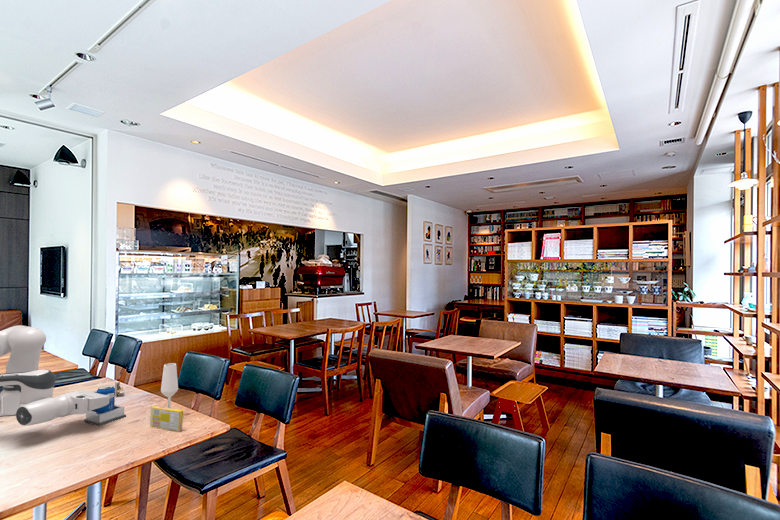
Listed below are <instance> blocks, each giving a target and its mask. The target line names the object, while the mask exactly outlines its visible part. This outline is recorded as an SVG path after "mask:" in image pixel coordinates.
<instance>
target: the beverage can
mask: <svg viewBox="0 0 780 520" xmlns="http://www.w3.org/2000/svg"><path fill="white" fill-rule="evenodd" d="M96 391H97V393H99V394H103V395H107V394H109V393H114V397H113V398H110V399H109V404H108V405H106V406H103V407H101V408H98V409H96V412H97V413H104V412H107V411H111V410H114V405H116V404H115V398H116V397H115V384H114V385H113V384H105V385H101V386H98V387H97V389H96Z"/></svg>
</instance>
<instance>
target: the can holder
mask: <svg viewBox="0 0 780 520" xmlns="http://www.w3.org/2000/svg"><path fill="white" fill-rule="evenodd" d="M124 417H125V418H126V417H127V414H125V406H121V405H117V404H114V410H111V411H107V412H104V413H97V412H96V409H95V410H91V411H87V413H85V418H84V419H83V422H84V423H87V424H91V425H94V426H97V427H100V425H101V426H103V424H104V425H106V423H107V424H109V422H110V423H113V422H116V421H119V420H121V418H122V419H124ZM118 419H119V420H118ZM115 420H116V421H115ZM112 421H113V422H112Z"/></svg>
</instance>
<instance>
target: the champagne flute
mask: <svg viewBox="0 0 780 520" xmlns="http://www.w3.org/2000/svg"><path fill="white" fill-rule="evenodd" d="M177 369H178V367H177V363H175V362H172V363H171V362H170V363H164V364H163V369H162V378H161V386H160V392H161V394H162V395H163V396H165V398H167V408H170V409H172V408H171V407H172V406H171V405H172V397H173V396H174V395H175V394H176V393H177V392H178V391H179V382H178V373H177V372H178V370H177Z"/></svg>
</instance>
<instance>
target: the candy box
mask: <svg viewBox="0 0 780 520" xmlns="http://www.w3.org/2000/svg"><path fill="white" fill-rule="evenodd" d="M149 416H150V417H149V419H150V420H149V427H150V426H152V427H151V428H155V427H157V428H156V429H160V428H162V429H161V430H166V429H167V431H171V430H173V432H177V431H180V432H182V431H183V420H184V410H183V409H176V408H171V409H170V408H168V407H162V406H156V405H153V406H151V407H150V414H149ZM181 430H182V431H181Z"/></svg>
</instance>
